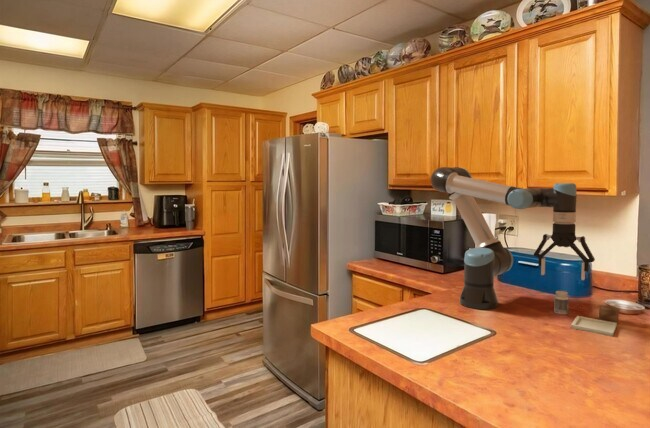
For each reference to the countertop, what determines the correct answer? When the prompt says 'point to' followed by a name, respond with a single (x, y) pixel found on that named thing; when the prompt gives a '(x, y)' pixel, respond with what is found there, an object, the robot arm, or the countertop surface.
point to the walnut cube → (608, 313)
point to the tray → (594, 325)
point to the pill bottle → (561, 302)
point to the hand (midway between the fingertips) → (562, 277)
